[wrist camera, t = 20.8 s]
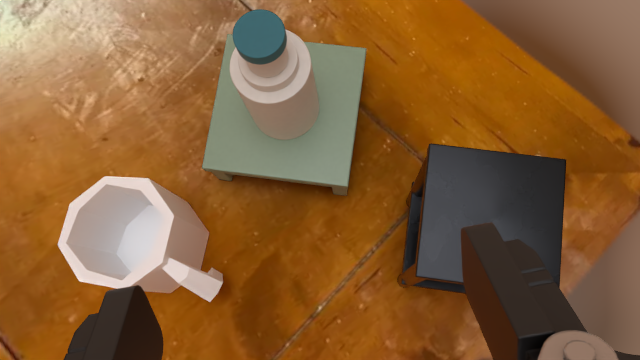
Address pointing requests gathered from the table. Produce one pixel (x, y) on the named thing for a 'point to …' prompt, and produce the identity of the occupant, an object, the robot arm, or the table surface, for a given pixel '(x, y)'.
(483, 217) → the black tiered rack
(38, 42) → the table surface
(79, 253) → the mug
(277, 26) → the bottle
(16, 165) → the table surface
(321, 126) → the low green table
